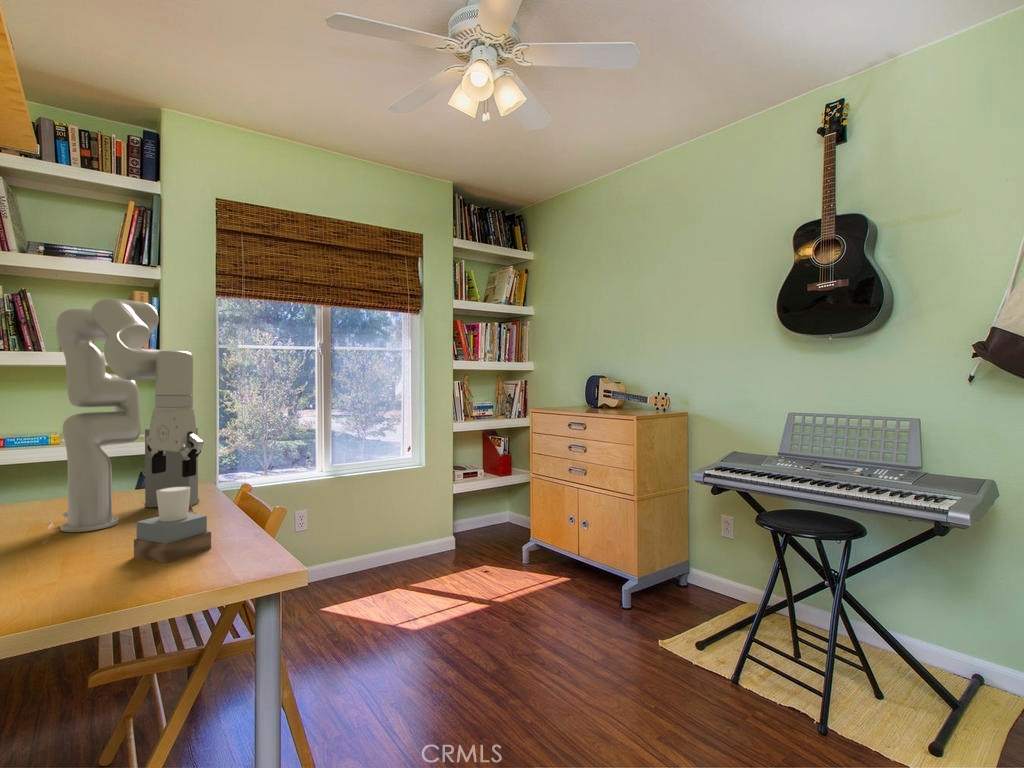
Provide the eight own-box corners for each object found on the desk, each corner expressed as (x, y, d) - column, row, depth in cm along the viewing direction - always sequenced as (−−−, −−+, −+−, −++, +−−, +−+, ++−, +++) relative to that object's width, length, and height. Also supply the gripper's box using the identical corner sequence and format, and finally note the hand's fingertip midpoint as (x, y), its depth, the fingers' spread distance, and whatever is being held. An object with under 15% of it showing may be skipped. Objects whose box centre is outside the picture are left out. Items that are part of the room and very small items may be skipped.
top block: (136, 538, 122) (136, 521, 122) (178, 527, 131) (178, 511, 131) (166, 544, 118) (166, 526, 118) (206, 532, 127) (206, 515, 127)
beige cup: (174, 522, 121) (174, 492, 121) (149, 521, 122) (148, 491, 122) (197, 515, 127) (197, 486, 127) (173, 513, 129) (172, 485, 129)
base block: (133, 559, 121) (133, 539, 121) (178, 544, 132) (178, 527, 132) (167, 565, 118) (167, 545, 117) (211, 550, 128) (211, 531, 128)
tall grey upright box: (199, 503, 174) (199, 427, 174) (189, 507, 168) (189, 429, 167) (156, 503, 173) (156, 427, 173) (144, 508, 167) (144, 429, 167)
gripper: (132, 401, 124) (132, 474, 124) (187, 405, 118) (186, 480, 119) (162, 400, 131) (162, 468, 131) (215, 403, 125) (215, 474, 126)
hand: (173, 474), depth 125 cm, fingers open, 9 cm apart
